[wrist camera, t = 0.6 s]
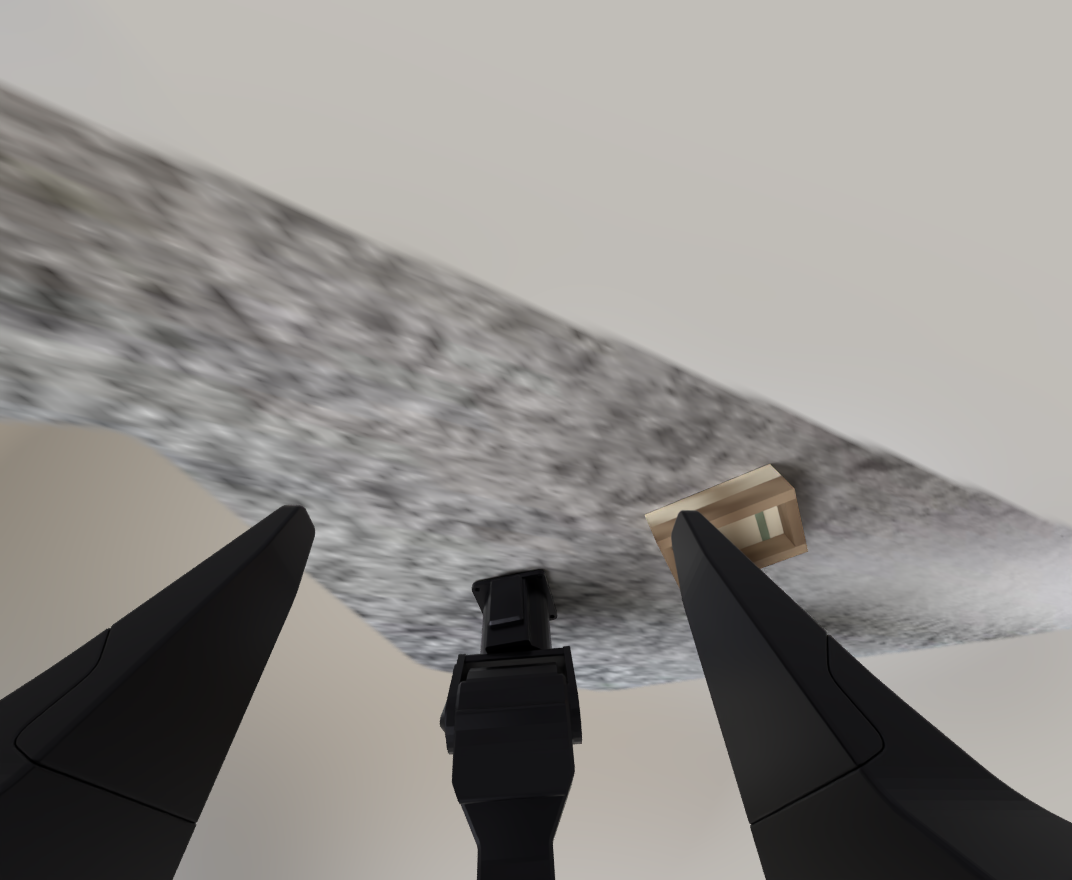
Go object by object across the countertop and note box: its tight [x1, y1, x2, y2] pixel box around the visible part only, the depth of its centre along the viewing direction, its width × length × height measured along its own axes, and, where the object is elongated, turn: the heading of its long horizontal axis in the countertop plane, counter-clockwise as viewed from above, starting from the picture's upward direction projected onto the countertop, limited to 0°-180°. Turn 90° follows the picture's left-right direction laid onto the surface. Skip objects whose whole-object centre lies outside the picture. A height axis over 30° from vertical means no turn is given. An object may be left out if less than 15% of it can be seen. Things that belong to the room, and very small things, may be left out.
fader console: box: [645, 464, 808, 588], centre depth 31 cm, size 10×7×3 cm
